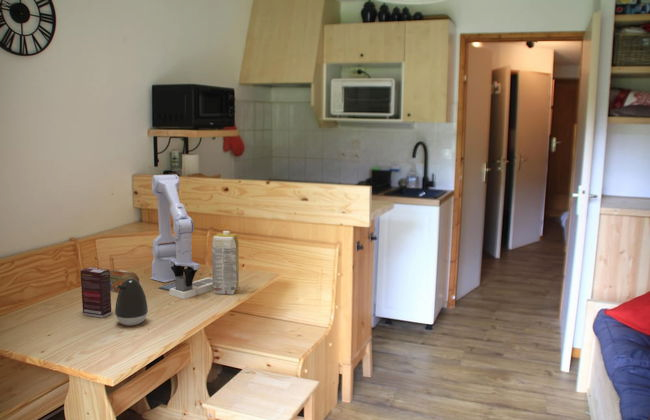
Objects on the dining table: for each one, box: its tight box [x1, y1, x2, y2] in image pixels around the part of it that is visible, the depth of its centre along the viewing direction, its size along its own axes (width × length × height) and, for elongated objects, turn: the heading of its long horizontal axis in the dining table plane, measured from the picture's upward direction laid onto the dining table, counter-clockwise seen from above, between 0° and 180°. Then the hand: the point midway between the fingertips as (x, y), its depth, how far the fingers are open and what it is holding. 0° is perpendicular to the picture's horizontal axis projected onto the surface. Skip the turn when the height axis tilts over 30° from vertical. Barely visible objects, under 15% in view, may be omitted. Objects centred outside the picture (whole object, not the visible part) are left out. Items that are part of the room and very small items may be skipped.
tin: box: [110, 269, 140, 294], centre depth 220 cm, size 15×3×8 cm, turn 69°
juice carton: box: [211, 230, 240, 295], centre depth 221 cm, size 9×8×24 cm
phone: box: [157, 280, 194, 292], centre depth 230 cm, size 7×14×1 cm, turn 151°
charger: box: [175, 273, 192, 292], centre depth 218 cm, size 4×4×5 cm
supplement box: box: [80, 266, 112, 319], centre depth 194 cm, size 9×5×16 cm, turn 71°
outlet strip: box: [168, 276, 214, 300], centre depth 225 cm, size 8×24×3 cm, turn 146°
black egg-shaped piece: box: [114, 278, 149, 327], centre depth 187 cm, size 10×10×15 cm
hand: (184, 284), depth 218 cm, fingers closed on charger, 4 cm apart
